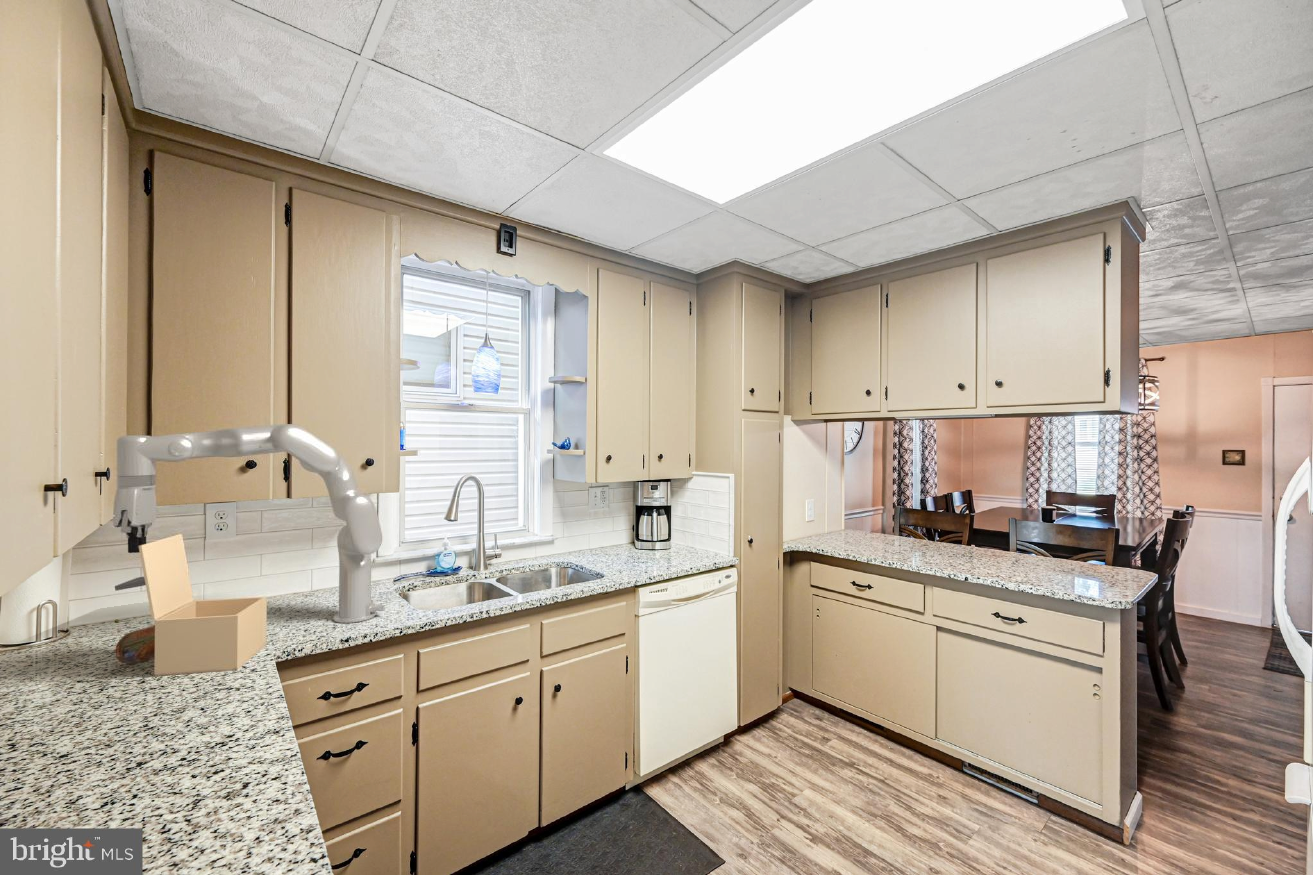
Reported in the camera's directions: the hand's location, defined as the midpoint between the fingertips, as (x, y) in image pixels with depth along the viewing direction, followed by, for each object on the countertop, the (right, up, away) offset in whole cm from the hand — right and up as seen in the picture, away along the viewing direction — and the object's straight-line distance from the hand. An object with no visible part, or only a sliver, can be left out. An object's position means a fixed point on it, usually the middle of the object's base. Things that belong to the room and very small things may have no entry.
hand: (137, 551), depth 149 cm
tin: (-2, -30, +5) cm, 31 cm away
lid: (+7, -6, +2) cm, 10 cm away
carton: (+17, -30, +4) cm, 35 cm away
